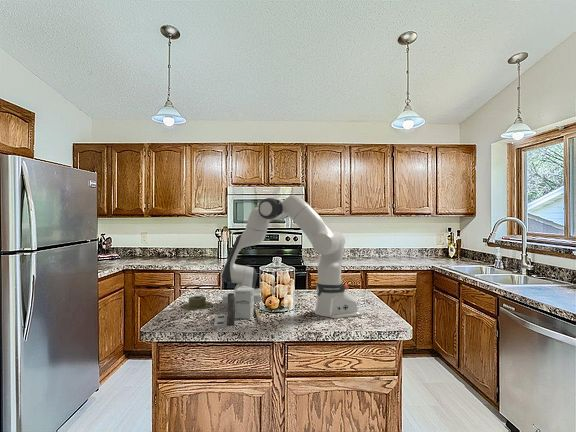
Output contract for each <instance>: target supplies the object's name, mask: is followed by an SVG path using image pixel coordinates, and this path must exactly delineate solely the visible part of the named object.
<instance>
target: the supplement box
mask: <svg viewBox="0 0 576 432" xmlns="http://www.w3.org/2000/svg"><path fill="white" fill-rule="evenodd" d="M254 288H255V287H254ZM254 288H238V289H237V290H235V289H234V290H235V303H234V319H244V320H245V319H246V320H251V318H253V316H254V311H255V308H254V307H255V306H254V304H255V302H254Z"/></svg>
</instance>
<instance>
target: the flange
mask: <svg viewBox="0 0 576 432" xmlns="http://www.w3.org/2000/svg"><path fill="white" fill-rule="evenodd" d="M206 299H207V296H204V295H195V296H189V297H188V302H187V303H186V302H185V303H184V304H182V305H181V308H182V309H184V310H187V311H188V310H189V311H197V310H198V311H199V310H205V309H210V308H212V307H213V302H209V301H207V300H206Z"/></svg>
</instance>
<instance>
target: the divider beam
mask: <svg viewBox="0 0 576 432" xmlns="http://www.w3.org/2000/svg"><path fill="white" fill-rule="evenodd" d="M228 293H229V294H228V303H227V326H231V327H232V326H235V303H234V292H228ZM254 312H255V316H256V320H257V323H259V324H258V325H262V319H261V315H260V311H259V308H254Z"/></svg>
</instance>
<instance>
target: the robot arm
mask: <svg viewBox="0 0 576 432" xmlns="http://www.w3.org/2000/svg"><path fill="white" fill-rule="evenodd" d="M288 217H289V218H290V219H291V221H293V223H295V224H296V226H297V227H298V228H299V229H300V230H301V231H302V232H303V234H305V236H306V238H307V239H308V240H309V243H311V245H312V249H313V250H314V252H316V253H317V254H319V255H320V258H319V262H318V264H317V283H316V295H317V297H316V304H315V308H314V314H315V315H317V316H322V317H327V318H331V319H341V318H350V317H359V316H363V311H362V309H360V308H359V307H358V302H357V300H356V298H354V297H353V296H352V295H351V294H350V293H348V292H347V291H346V290H348V289H349V285H347V284H344V283H342V263H343V258H344V257H343V256H344V249H345V245H346V240H345V239H346V238H345V236H344V235H343V234H342V233H341V232H339V231H338V230H336V229H335V230H333V229H332V230H331V229H330V228H328V226H327V225H326V223H325V222H324V220H323V219H322V217H321V215H319V213H318V212H316V211H315V209H314V208H312V206H310V204H309V203H308V202H306V201H305V200H304V199H302V198H301V197H300V196H298V195H296V194H291V195H289V196H287V197H286V198H285V199H284V198H280V197H279V198H278V197H266V198H265V199H263V200H261V201H260V202H259V204H258V207H257V206H256V207H253V208H252V210H251V211H250V213H249V216H248V218H247V222H246V226H245V229H244V231H243V232H242V233H240V234H238V236H236V239H235V241H234V243H233V245H232V247H231V249H230V252H229V255H228V257H227V260H226V262H225V264H224V266H223V267H222V269H221V276H220V277H221V279H222V281H224V282H225V283H228V284H229V283H233V284H236V285H235V287H234V292H233V293H234V304H235V290H237V289H238V288H254V303H262V302H261V297H260V291H261V288H259V287H258V288H257V287H256V283H257V280H258V273H257V271H256V269H255V267H251V266H247V265H241V264H236V263H235V262H236V260H237V257H238V255H239V252H240V251H241V250H242V249H244V248H248V247H251V246H252V247H253V246H257V245H259V244H262V243H263V241H264V240H265V239H266V236H267V233H268V228H269V224H270V222H271V221H272V220H274V221H278V220H284V219H287V218H288ZM229 293H230V292H227V293H224V294H223V295H222V296H221V298H222V304H228V294H229Z"/></svg>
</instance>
